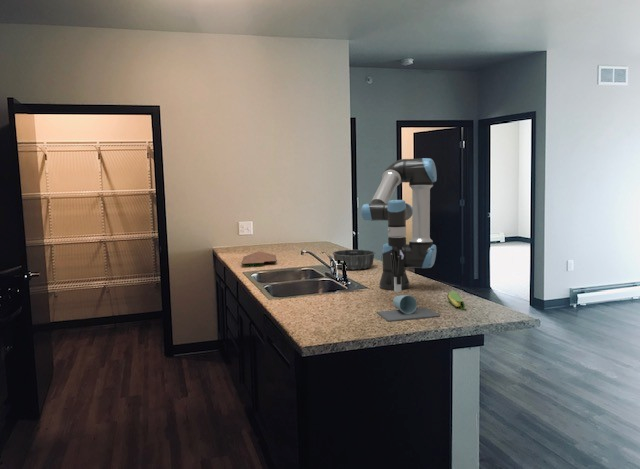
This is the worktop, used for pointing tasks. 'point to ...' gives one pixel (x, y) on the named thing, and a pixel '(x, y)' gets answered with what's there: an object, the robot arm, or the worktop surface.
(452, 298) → the edible corn
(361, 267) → the bundt pan
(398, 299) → the cup
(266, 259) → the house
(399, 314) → the mat
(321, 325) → the worktop surface
